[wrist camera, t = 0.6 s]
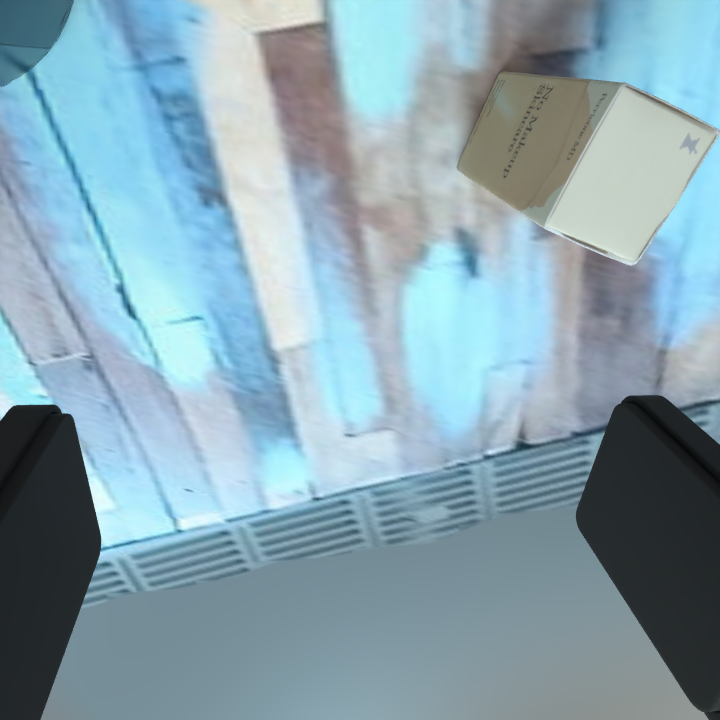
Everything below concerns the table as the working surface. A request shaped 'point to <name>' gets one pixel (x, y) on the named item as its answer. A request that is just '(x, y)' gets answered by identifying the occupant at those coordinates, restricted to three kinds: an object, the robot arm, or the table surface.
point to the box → (586, 158)
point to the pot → (28, 33)
